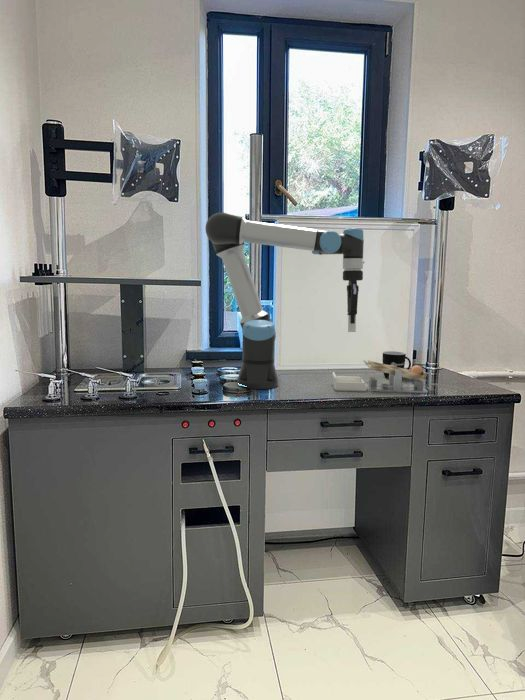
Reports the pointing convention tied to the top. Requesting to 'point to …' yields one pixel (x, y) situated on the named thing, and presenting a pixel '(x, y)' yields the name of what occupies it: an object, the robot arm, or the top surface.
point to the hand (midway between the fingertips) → (351, 331)
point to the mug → (395, 360)
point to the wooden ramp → (392, 369)
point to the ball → (416, 370)
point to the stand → (396, 384)
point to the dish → (348, 383)
